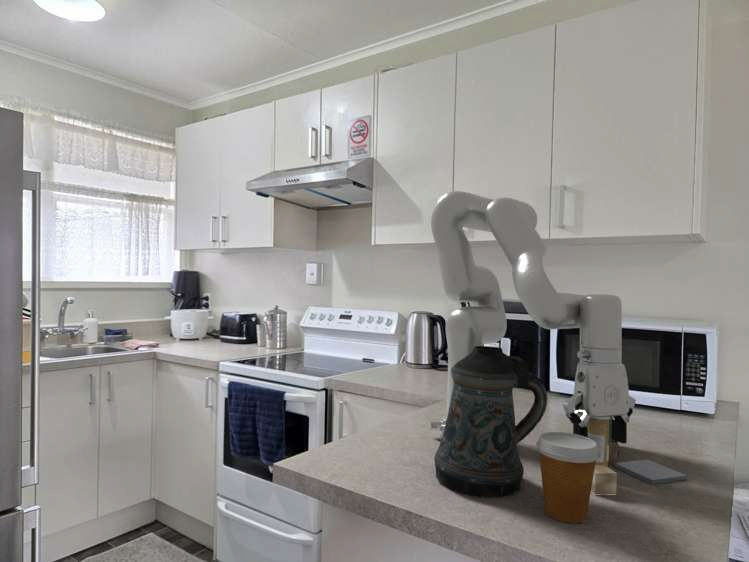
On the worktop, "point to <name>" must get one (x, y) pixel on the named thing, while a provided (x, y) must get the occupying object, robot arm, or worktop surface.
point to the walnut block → (612, 453)
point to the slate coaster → (650, 471)
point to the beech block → (604, 480)
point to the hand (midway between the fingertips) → (599, 443)
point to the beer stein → (487, 424)
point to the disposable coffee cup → (567, 474)
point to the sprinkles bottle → (600, 437)
